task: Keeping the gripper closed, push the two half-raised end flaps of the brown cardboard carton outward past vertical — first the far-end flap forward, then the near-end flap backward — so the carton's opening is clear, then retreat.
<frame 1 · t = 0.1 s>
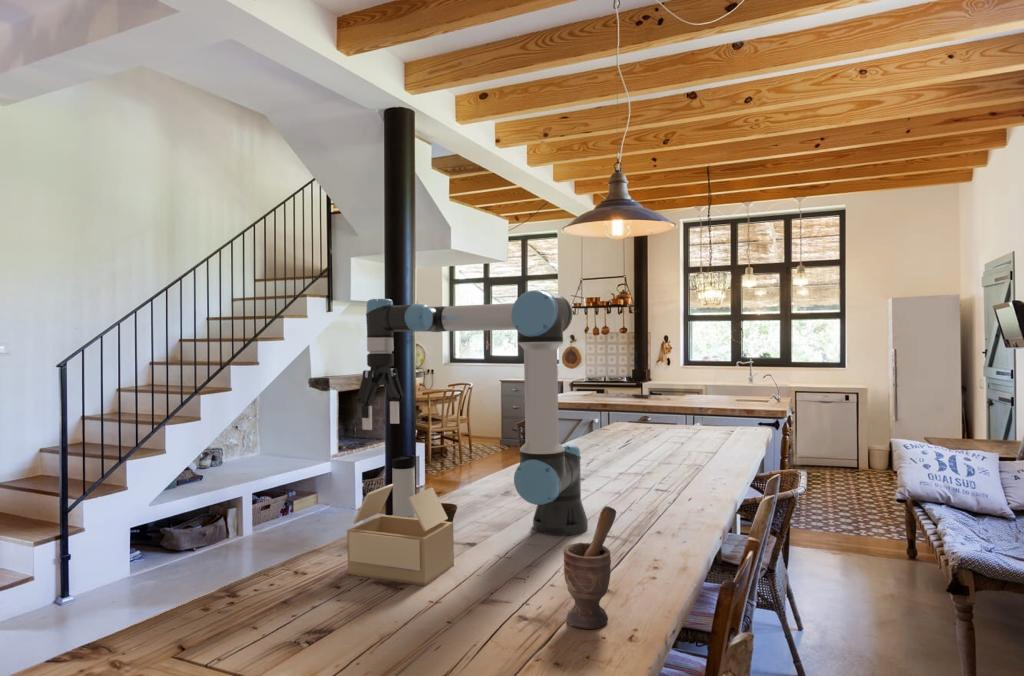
hand: (381, 426, 180), 28 cm above the table, fingers open, 13 cm apart
cup: (440, 543, 162), on the table
flap far: (373, 503, 146), point 15 cm above the table, hinge at -30.0°
mortar and pestle: (591, 618, 116), on the table
flap near: (428, 508, 140), point 15 cm above the table, hinge at -30.0°
travel mug: (404, 526, 177), on the table
carton: (401, 569, 143), on the table
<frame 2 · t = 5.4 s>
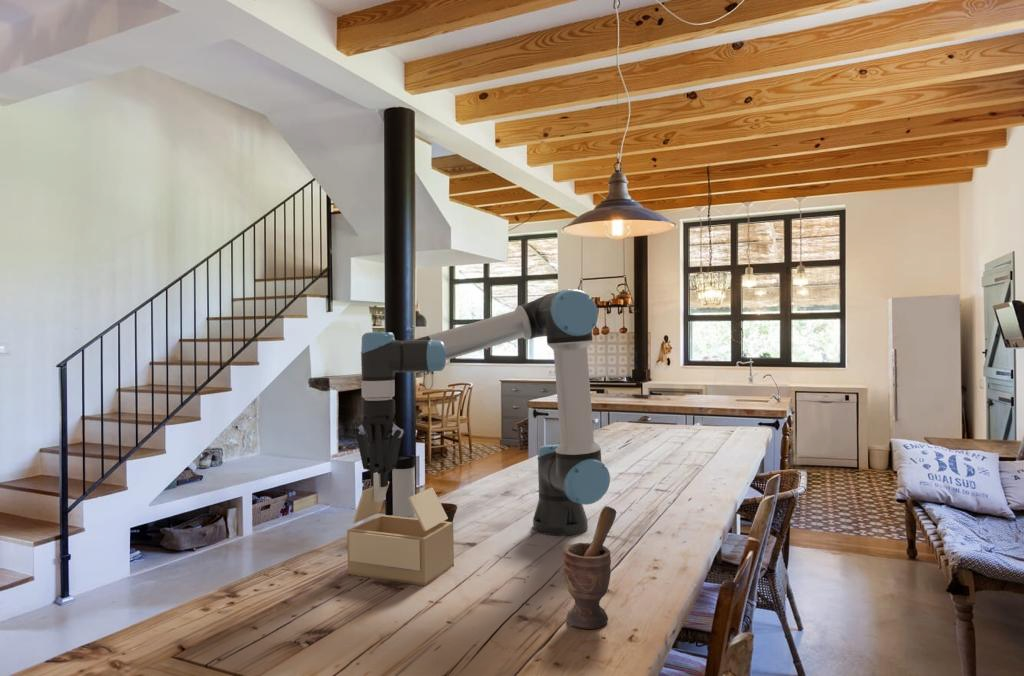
hand: (379, 500, 145), 15 cm above the table, fingers closed
flap far: (371, 501, 146), point 15 cm above the table, hinge at -20.9°, touching gripper
everything else where it was.
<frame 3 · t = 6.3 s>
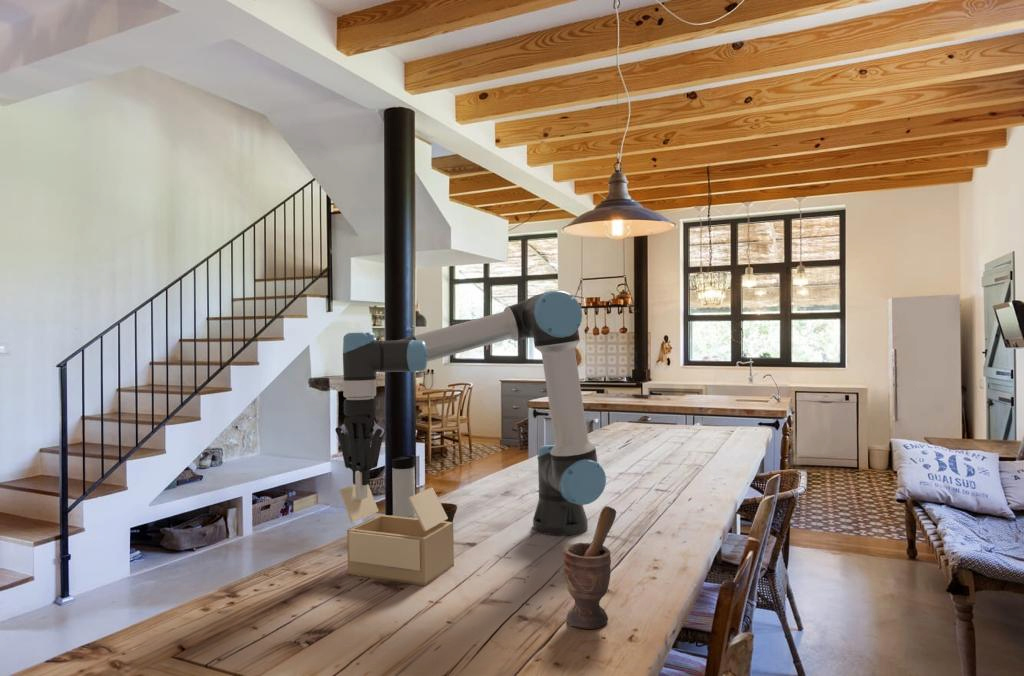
hand: (361, 498, 147), 15 cm above the table, fingers closed
flap far: (359, 501, 147), point 15 cm above the table, hinge at 25.2°, touching gripper
everything else where it was.
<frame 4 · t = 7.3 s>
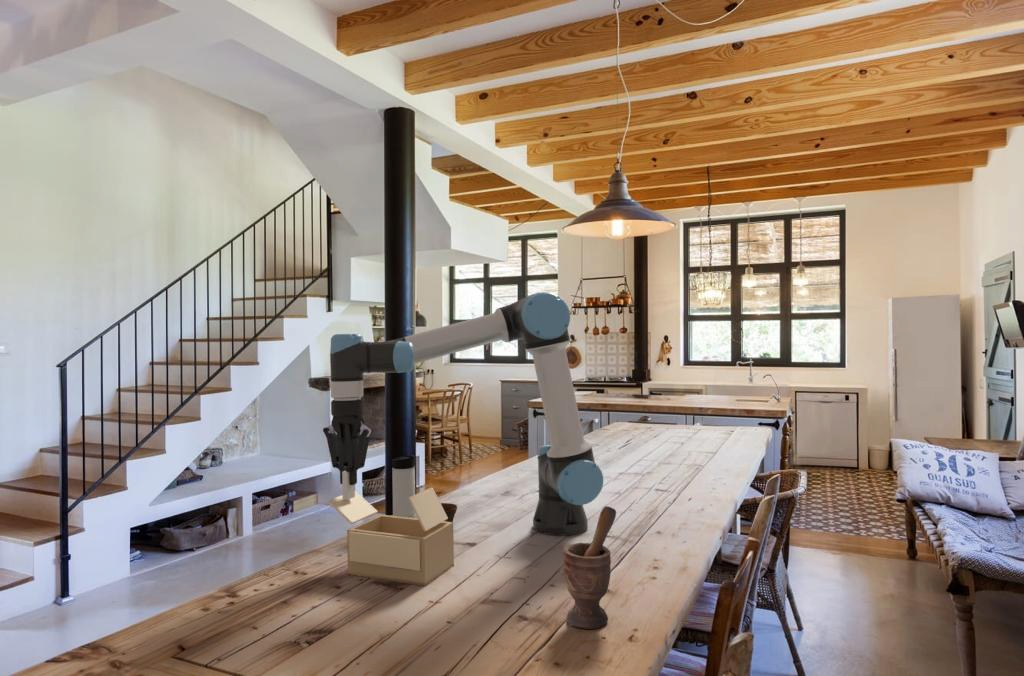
hand: (348, 498, 148), 15 cm above the table, fingers closed
flap far: (353, 506, 148), point 13 cm above the table, hinge at 55.4°, touching gripper
everything else where it was.
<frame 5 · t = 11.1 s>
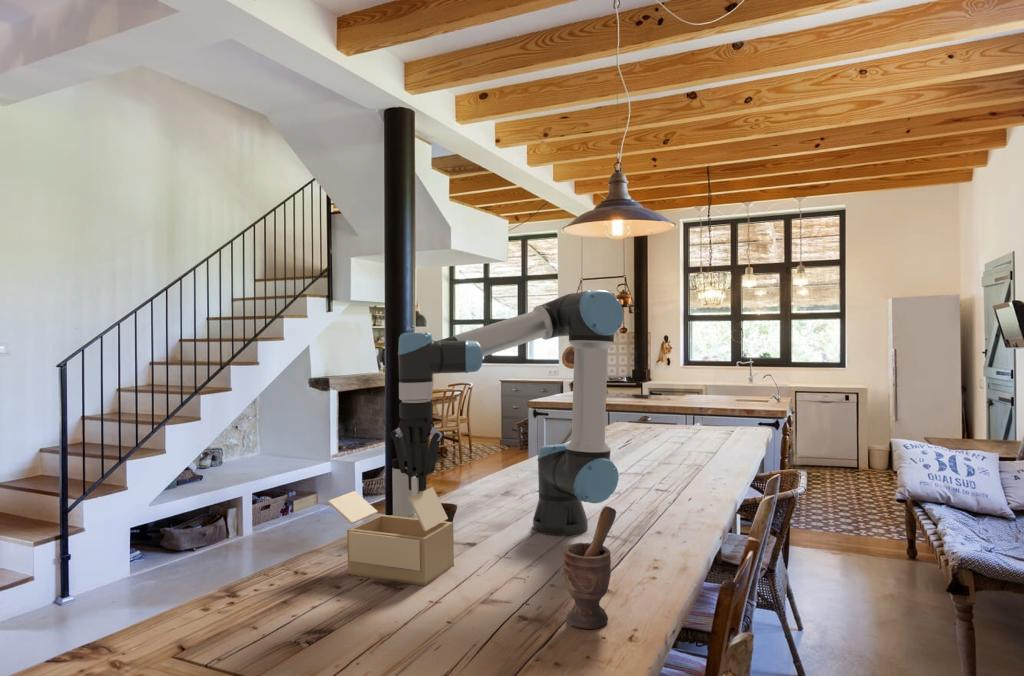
hand: (417, 505, 141), 15 cm above the table, fingers closed
flap far: (353, 506, 148), point 13 cm above the table, hinge at 56.2°
flap near: (428, 508, 140), point 15 cm above the table, hinge at -29.4°, touching gripper
everything else where it was.
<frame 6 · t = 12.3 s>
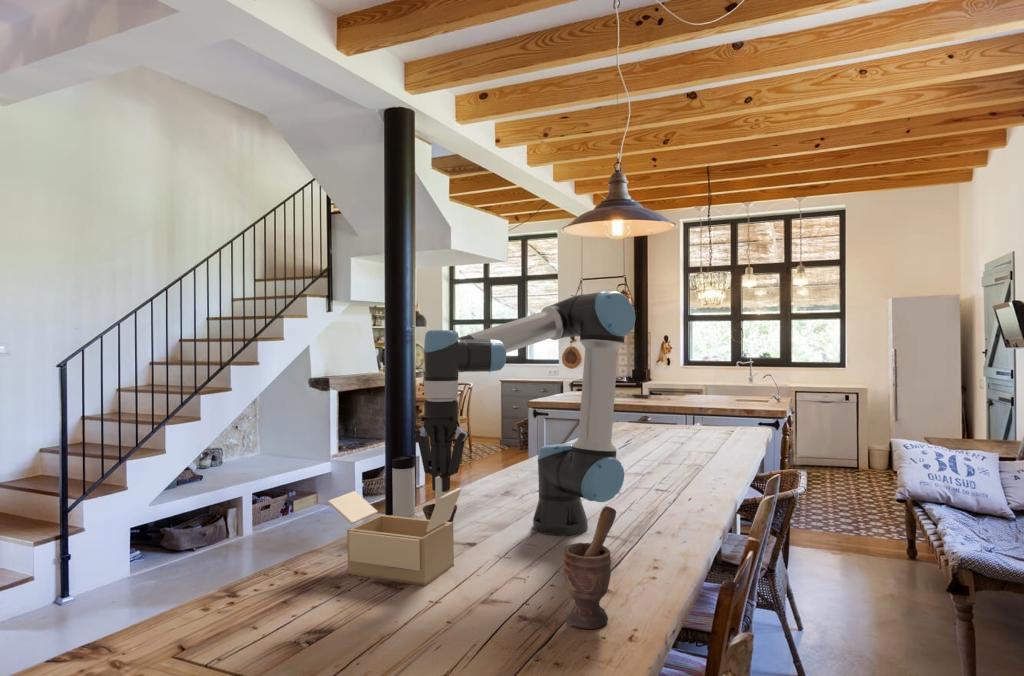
hand: (441, 505, 139), 16 cm above the table, fingers closed
flap near: (444, 509, 139), point 15 cm above the table, hinge at 23.7°, touching gripper
everything else where it was.
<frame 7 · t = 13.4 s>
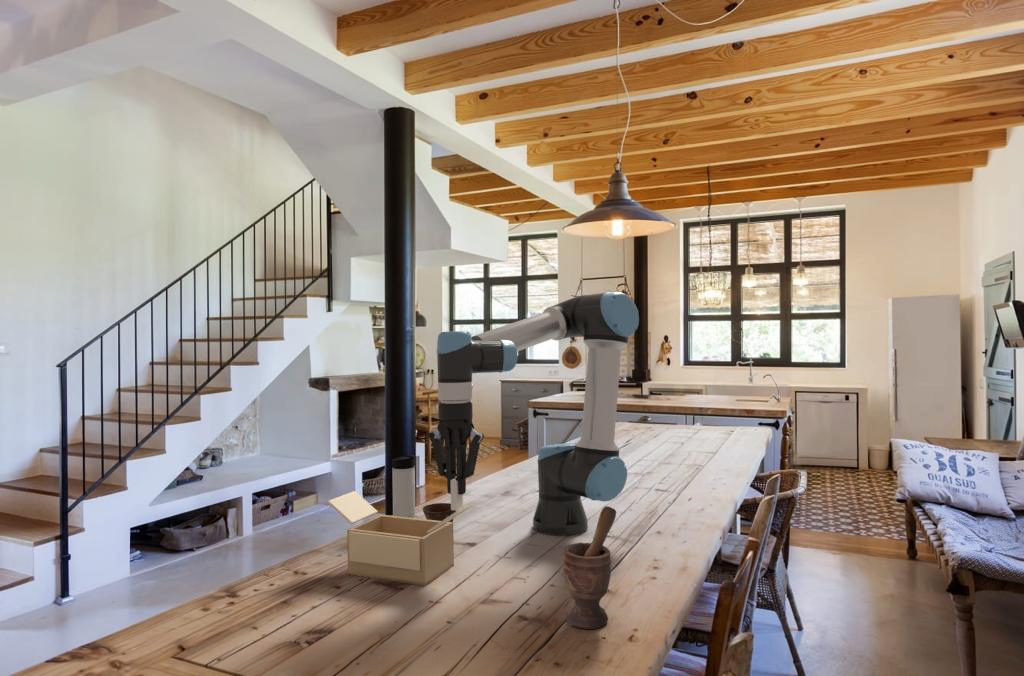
hand: (456, 508, 137), 15 cm above the table, fingers closed
flap near: (451, 516, 138), point 13 cm above the table, hinge at 56.0°, touching gripper
everything else where it was.
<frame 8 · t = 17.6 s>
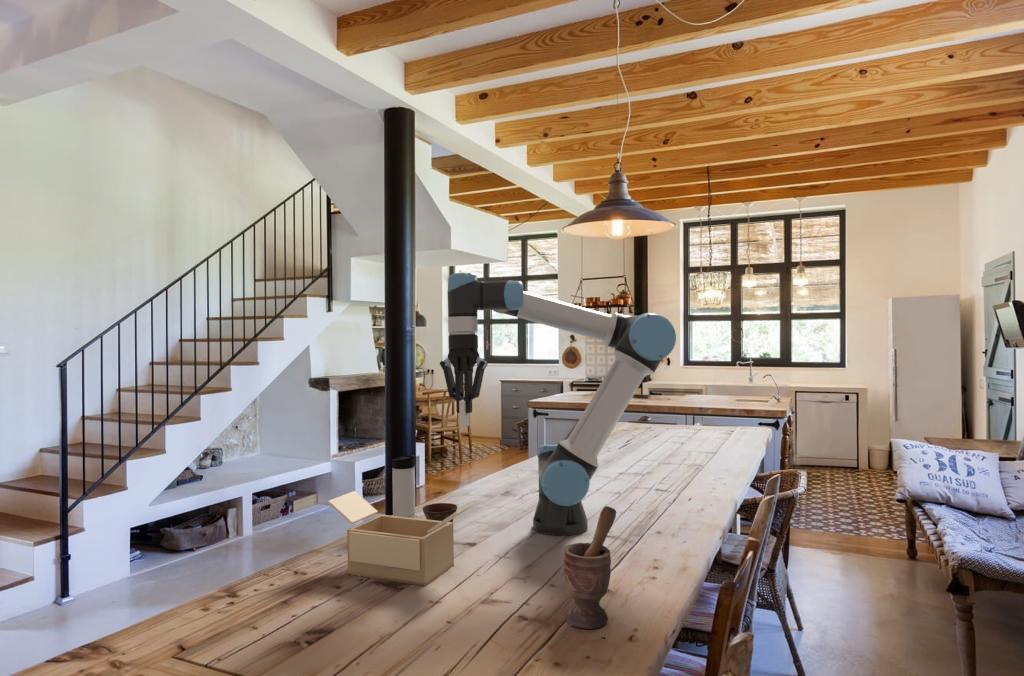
hand: (464, 425, 160), 30 cm above the table, fingers closed
flap near: (451, 517, 138), point 13 cm above the table, hinge at 56.1°
everything else where it was.
at the end: flap far at +56° (first picture: -30°); flap near at +56° (first picture: -30°) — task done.
